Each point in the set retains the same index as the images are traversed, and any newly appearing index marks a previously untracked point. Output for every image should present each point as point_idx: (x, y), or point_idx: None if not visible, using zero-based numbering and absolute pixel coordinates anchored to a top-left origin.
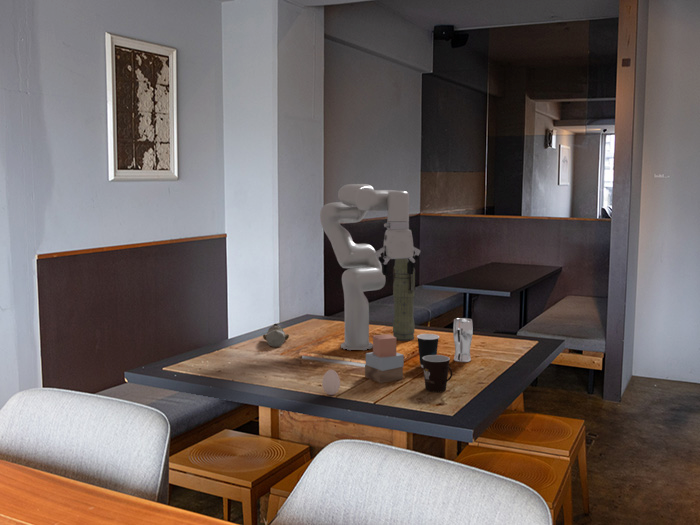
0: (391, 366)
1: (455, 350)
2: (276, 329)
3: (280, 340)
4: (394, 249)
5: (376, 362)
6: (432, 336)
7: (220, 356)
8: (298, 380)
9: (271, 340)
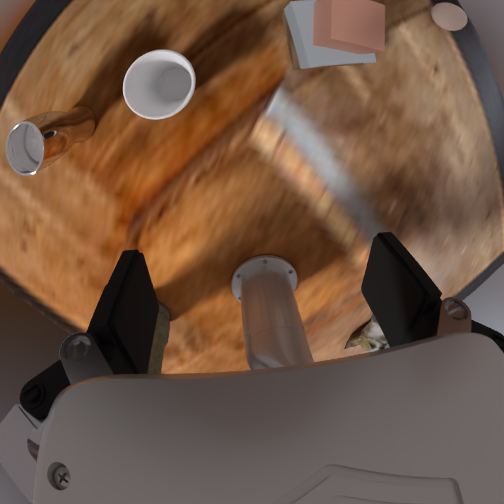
0: None
1: (83, 129)
2: (384, 336)
3: None
4: (494, 466)
5: None
6: (135, 105)
7: (453, 280)
8: (451, 114)
9: None
